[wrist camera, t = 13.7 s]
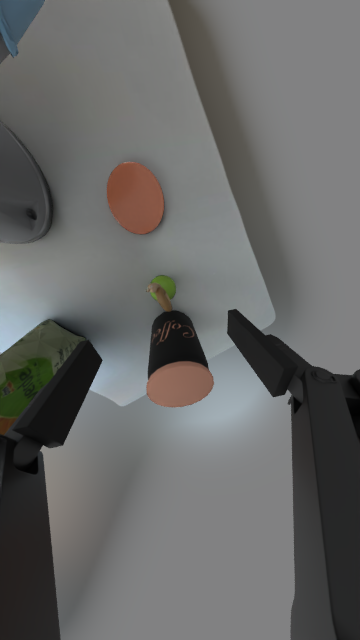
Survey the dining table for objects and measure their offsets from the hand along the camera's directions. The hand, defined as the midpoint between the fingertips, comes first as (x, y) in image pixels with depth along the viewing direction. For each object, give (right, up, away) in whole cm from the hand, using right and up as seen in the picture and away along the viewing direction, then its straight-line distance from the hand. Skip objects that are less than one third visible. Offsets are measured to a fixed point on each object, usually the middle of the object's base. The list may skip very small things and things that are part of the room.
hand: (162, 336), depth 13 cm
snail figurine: (-3, +10, +17) cm, 20 cm away
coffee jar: (0, 0, +24) cm, 24 cm away
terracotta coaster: (-6, +21, +10) cm, 24 cm away
